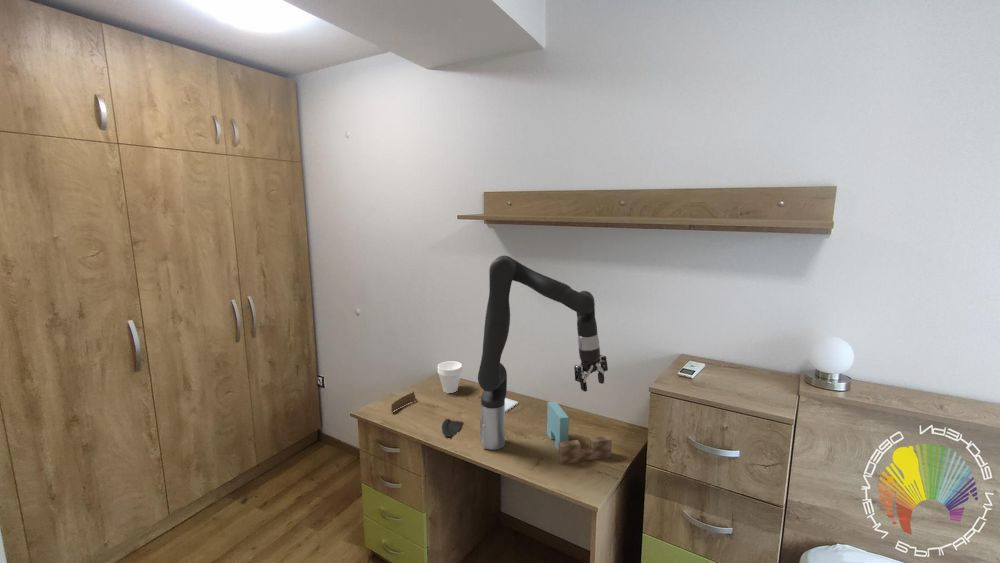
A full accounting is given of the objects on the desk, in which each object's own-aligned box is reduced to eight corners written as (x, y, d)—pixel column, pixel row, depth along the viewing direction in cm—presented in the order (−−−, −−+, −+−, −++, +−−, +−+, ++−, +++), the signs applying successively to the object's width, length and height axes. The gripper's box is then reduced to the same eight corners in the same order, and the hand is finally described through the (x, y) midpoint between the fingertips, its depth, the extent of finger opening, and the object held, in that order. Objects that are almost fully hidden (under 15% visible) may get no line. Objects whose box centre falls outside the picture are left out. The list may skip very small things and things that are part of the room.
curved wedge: (435, 438, 181) (435, 434, 181) (445, 422, 194) (445, 418, 194) (455, 440, 180) (455, 436, 179) (464, 423, 193) (463, 420, 192)
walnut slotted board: (561, 464, 162) (561, 446, 161) (558, 459, 165) (558, 442, 164) (611, 456, 167) (611, 439, 166) (607, 452, 170) (608, 435, 168)
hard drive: (503, 412, 200) (518, 401, 210) (488, 407, 205) (504, 397, 214) (503, 415, 200) (518, 404, 210) (488, 410, 205) (504, 400, 215)
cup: (454, 384, 233) (453, 359, 230) (467, 391, 223) (466, 366, 221) (433, 390, 225) (432, 364, 223) (446, 398, 216) (445, 372, 213)
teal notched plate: (568, 451, 171) (568, 417, 168) (559, 452, 170) (560, 418, 167) (555, 432, 184) (555, 401, 181) (547, 433, 183) (547, 402, 181)
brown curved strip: (393, 414, 200) (393, 404, 199) (390, 413, 201) (390, 403, 200) (417, 401, 213) (417, 392, 212) (414, 400, 214) (413, 391, 213)
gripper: (595, 338, 169) (599, 377, 172) (567, 349, 161) (571, 390, 165) (610, 342, 162) (614, 383, 165) (581, 354, 155) (585, 396, 158)
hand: (593, 386), depth 165 cm, fingers open, 8 cm apart
